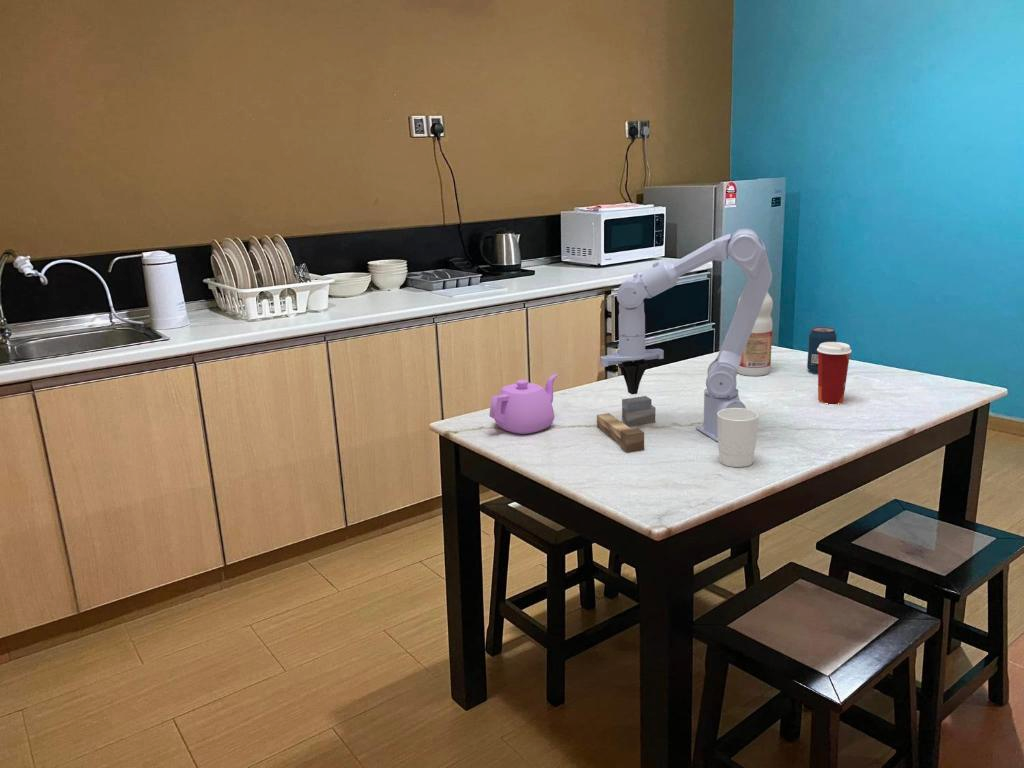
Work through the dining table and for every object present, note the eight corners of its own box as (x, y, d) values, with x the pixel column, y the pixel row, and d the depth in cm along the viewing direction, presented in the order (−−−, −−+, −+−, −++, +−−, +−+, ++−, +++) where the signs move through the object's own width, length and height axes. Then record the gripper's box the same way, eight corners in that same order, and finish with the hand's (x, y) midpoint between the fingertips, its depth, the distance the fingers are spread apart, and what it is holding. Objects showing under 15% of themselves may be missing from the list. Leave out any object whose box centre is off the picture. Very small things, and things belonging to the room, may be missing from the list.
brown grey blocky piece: (686, 443, 169) (687, 425, 168) (626, 452, 165) (626, 434, 164) (649, 418, 185) (649, 402, 184) (594, 426, 181) (593, 410, 180)
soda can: (815, 367, 220) (818, 325, 216) (839, 371, 215) (842, 328, 211) (801, 372, 216) (804, 329, 212) (825, 377, 210) (828, 333, 207)
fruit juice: (727, 371, 220) (730, 271, 212) (751, 365, 224) (755, 267, 216) (753, 378, 212) (758, 275, 204) (777, 372, 217) (782, 270, 209)
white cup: (749, 452, 162) (751, 406, 159) (762, 467, 154) (764, 419, 152) (711, 455, 162) (712, 408, 159) (722, 469, 154) (723, 421, 151)
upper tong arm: (635, 438, 168) (635, 431, 168) (622, 440, 168) (622, 433, 167) (609, 419, 181) (609, 413, 181) (597, 421, 181) (596, 414, 180)
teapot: (577, 422, 185) (576, 376, 182) (510, 443, 174) (508, 395, 171) (540, 409, 196) (538, 366, 192) (475, 429, 184) (472, 383, 181)
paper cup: (854, 403, 189) (859, 346, 185) (829, 408, 186) (833, 350, 182) (830, 394, 196) (834, 339, 192) (806, 399, 193) (809, 343, 189)
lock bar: (651, 407, 181) (651, 399, 180) (627, 411, 179) (627, 402, 179) (645, 404, 184) (645, 395, 183) (622, 407, 182) (621, 399, 182)
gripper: (653, 326, 179) (653, 384, 183) (594, 334, 175) (595, 392, 179) (668, 332, 173) (668, 392, 176) (607, 340, 169) (608, 401, 172)
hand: (632, 393), depth 177 cm, fingers closed
